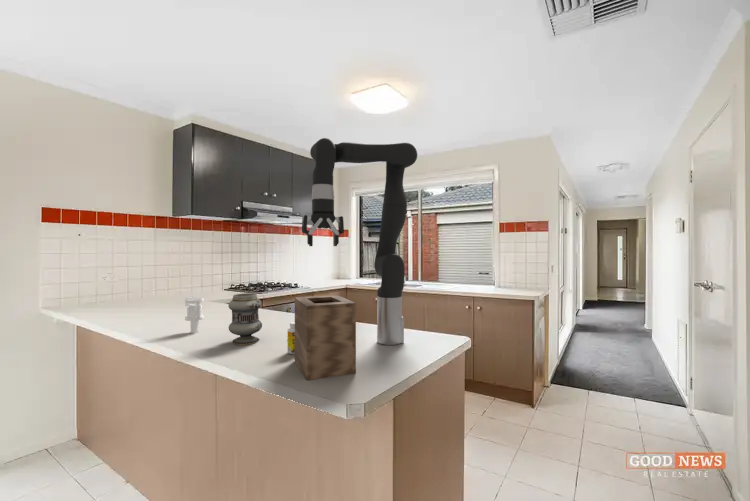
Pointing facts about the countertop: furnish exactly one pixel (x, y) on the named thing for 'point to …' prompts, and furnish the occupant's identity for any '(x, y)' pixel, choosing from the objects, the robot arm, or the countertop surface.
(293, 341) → the supplement bottle
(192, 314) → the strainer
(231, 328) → the apothecary jar
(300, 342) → the box
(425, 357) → the countertop surface
